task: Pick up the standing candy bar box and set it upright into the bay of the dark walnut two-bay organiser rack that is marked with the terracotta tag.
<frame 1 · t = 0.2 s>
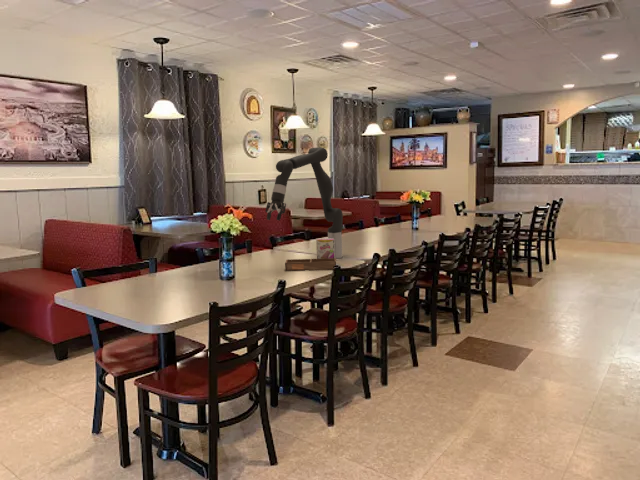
hand: (273, 220, 292), 31 cm above the table, tool tilted 20°, fingers open, 8 cm apart
candy bar box: (326, 265, 315), on the table
organiser rack: (311, 268, 304), on the table
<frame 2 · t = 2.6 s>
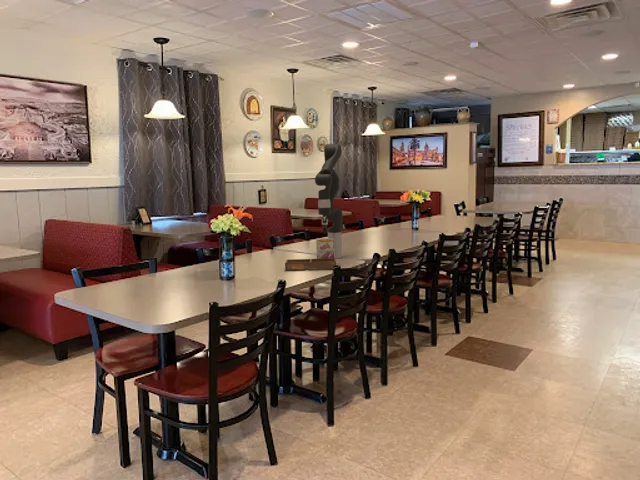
hand: (325, 232, 312), 20 cm above the table, tool pointing down, fingers open, 8 cm apart
nothing on the table moved.
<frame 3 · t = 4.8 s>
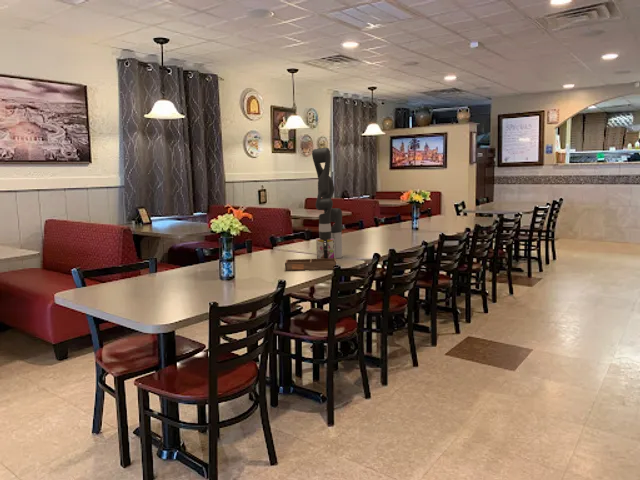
hand: (325, 257, 314), 5 cm above the table, tool pointing down, fingers closed on candy bar box, 5 cm apart
candy bar box: (326, 264, 315), on the table, touching gripper
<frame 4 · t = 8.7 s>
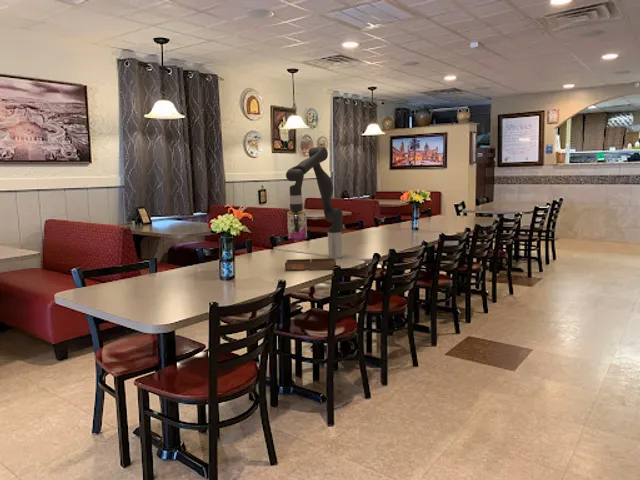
hand: (297, 231, 301), 23 cm above the table, tool pointing down, fingers closed on candy bar box, 5 cm apart
candy bar box: (297, 239, 302), point 18 cm above the table, touching gripper
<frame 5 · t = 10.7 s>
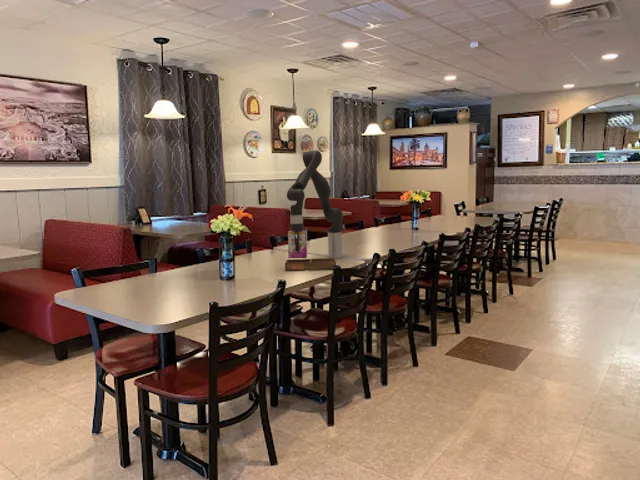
hand: (297, 250, 303), 11 cm above the table, tool pointing down, fingers closed on candy bar box, 5 cm apart
candy bar box: (298, 258, 303), point 7 cm above the table, touching gripper
when the fingers open (7 cm above the table, at t = 12.5 s): candy bar box drops 1 cm, resting on organiser rack.
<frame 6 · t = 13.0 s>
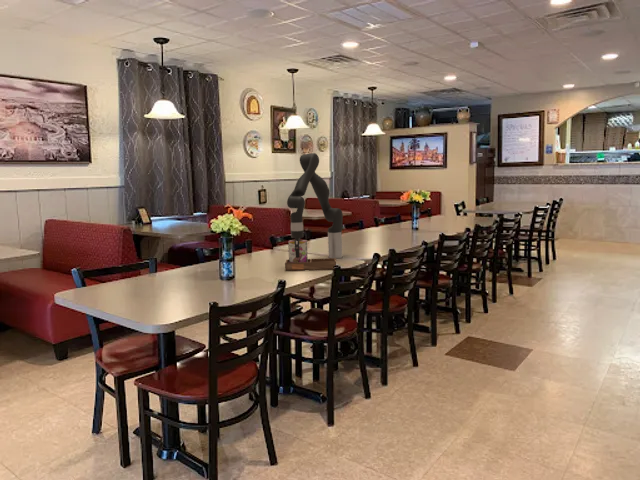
hand: (298, 256, 303), 8 cm above the table, tool pointing down, fingers open, 8 cm apart
candy bar box: (298, 267, 304), point 1 cm above the table, touching organiser rack
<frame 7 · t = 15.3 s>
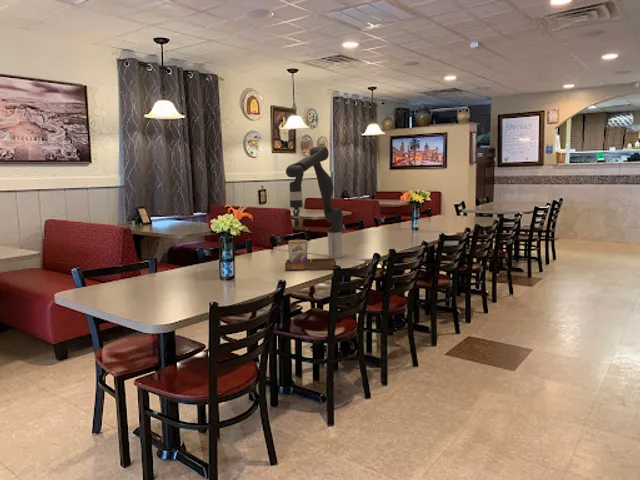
hand: (297, 226, 301), 26 cm above the table, tool pointing down, fingers open, 8 cm apart
nothing on the table moved.
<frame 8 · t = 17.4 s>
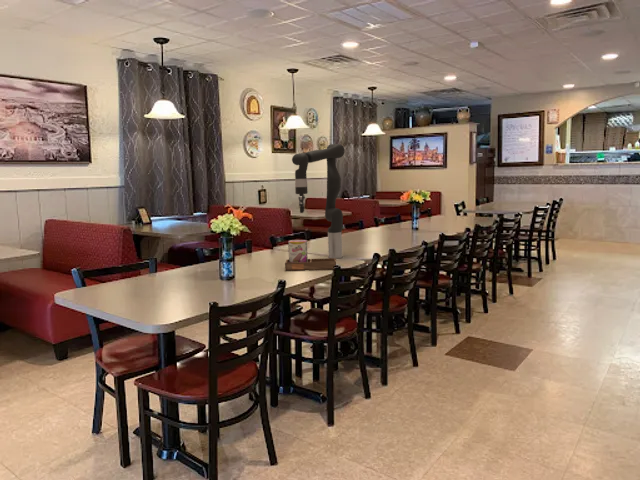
hand: (302, 212, 314), 33 cm above the table, tool pointing down, fingers open, 8 cm apart
nothing on the table moved.
at the end: candy bar box 0.1 cm from the target spot on the organiser rack, point 0.8 cm above the organiser rack's base; candy bar box tilted 0°; the gripper is holding nothing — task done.
